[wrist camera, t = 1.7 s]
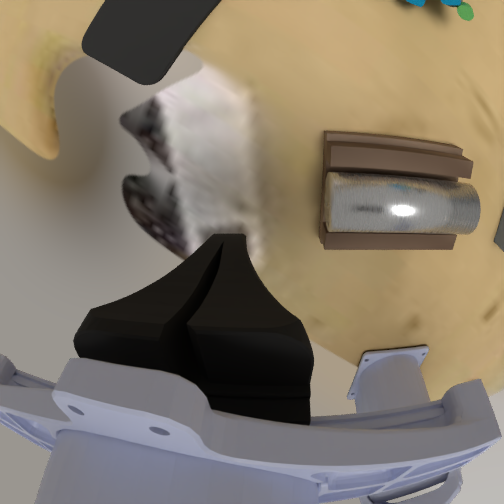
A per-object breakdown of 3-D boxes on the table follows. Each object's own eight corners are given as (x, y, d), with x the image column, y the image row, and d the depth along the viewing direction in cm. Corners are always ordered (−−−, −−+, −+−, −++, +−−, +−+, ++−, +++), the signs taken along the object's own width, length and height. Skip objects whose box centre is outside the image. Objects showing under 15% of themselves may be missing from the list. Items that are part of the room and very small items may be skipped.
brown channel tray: (437, 237, 20) (450, 254, 18) (319, 236, 21) (323, 255, 19) (455, 145, 16) (474, 155, 14) (324, 130, 17) (331, 138, 15)
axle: (458, 176, 17) (485, 194, 14) (449, 220, 18) (472, 244, 15) (325, 165, 17) (336, 182, 14) (323, 216, 19) (331, 242, 16)
